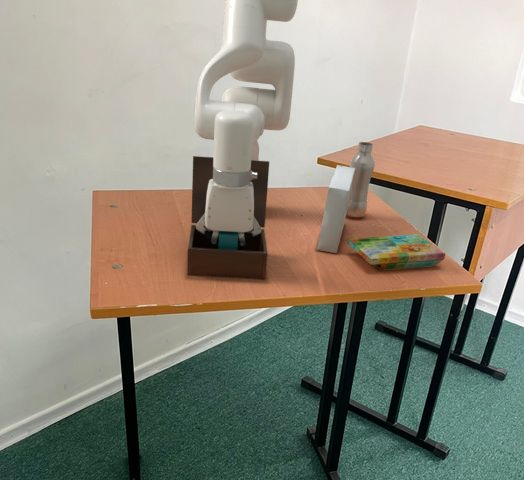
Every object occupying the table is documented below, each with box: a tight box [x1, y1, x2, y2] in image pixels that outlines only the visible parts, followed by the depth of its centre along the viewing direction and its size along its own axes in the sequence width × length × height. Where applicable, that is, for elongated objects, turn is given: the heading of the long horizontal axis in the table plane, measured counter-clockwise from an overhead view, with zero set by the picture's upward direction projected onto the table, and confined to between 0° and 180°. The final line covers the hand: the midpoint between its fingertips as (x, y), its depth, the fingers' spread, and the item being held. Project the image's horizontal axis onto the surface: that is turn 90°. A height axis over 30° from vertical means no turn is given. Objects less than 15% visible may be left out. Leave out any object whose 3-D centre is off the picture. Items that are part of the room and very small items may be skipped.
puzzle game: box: [346, 233, 447, 271], centre depth 141 cm, size 12×5×20 cm
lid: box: [190, 155, 270, 228], centre depth 132 cm, size 14×17×5 cm
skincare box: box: [316, 164, 355, 254], centre depth 147 cm, size 21×5×16 cm, turn 168°
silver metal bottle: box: [346, 141, 376, 218], centre depth 161 cm, size 6×7×20 cm
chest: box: [187, 224, 268, 280], centre depth 130 cm, size 14×17×7 cm
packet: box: [219, 231, 238, 250], centre depth 127 cm, size 6×4×8 cm
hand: (227, 258), depth 129 cm, fingers closed on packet, 4 cm apart
